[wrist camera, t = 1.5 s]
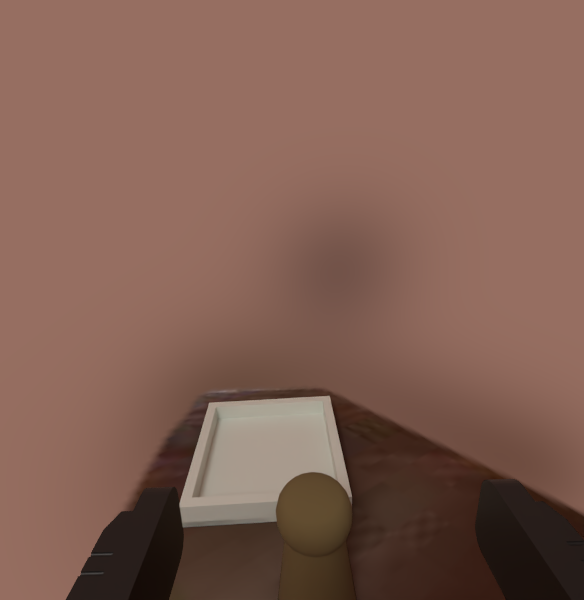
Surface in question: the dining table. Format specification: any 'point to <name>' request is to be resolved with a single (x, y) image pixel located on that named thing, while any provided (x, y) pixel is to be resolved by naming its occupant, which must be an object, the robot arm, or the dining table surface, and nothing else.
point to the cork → (315, 539)
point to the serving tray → (258, 458)
